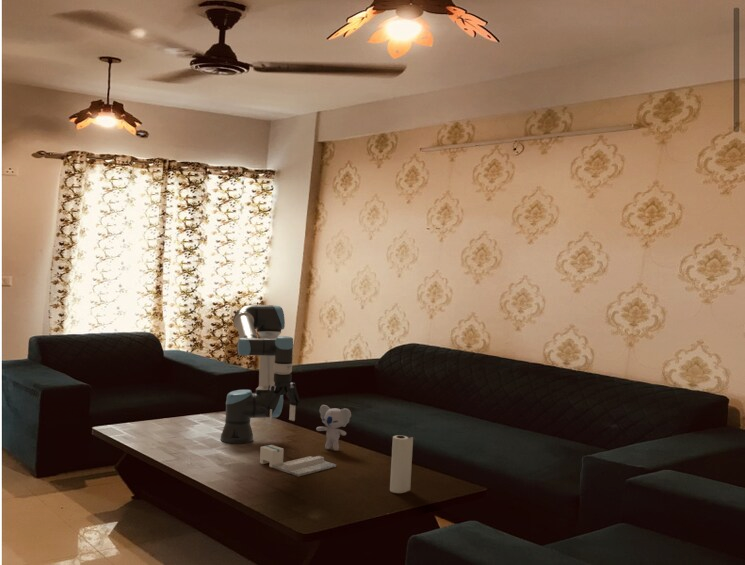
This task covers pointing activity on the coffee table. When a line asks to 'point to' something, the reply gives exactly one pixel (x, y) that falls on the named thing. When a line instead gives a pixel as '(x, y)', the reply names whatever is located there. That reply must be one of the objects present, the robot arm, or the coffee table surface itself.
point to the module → (271, 455)
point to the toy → (333, 424)
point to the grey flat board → (304, 466)
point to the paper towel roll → (401, 464)
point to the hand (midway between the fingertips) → (280, 422)
